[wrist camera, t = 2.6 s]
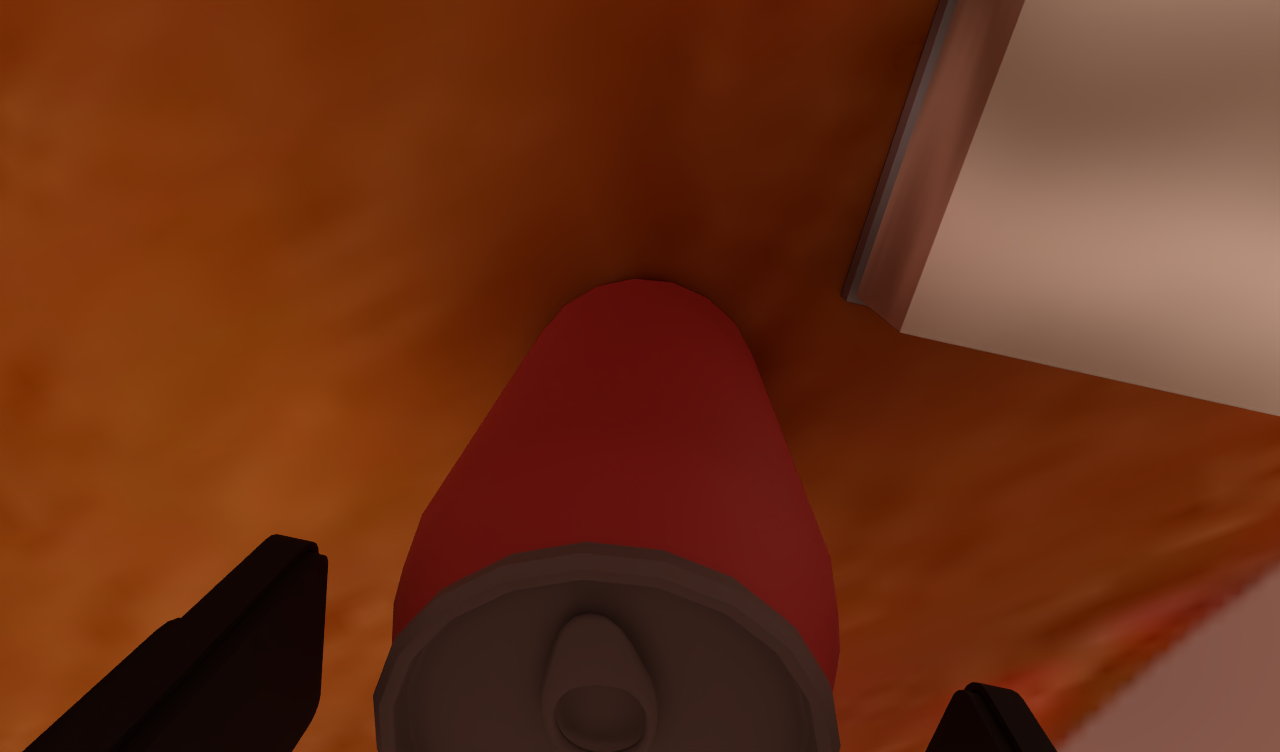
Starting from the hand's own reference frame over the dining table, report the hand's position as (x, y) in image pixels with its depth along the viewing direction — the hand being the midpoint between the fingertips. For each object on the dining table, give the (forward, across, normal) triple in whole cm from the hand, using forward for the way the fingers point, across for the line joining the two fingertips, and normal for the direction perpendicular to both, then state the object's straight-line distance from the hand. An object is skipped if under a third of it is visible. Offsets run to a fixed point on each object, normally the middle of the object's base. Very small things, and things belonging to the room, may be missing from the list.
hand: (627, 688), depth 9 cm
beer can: (+10, 0, -1) cm, 11 cm away
